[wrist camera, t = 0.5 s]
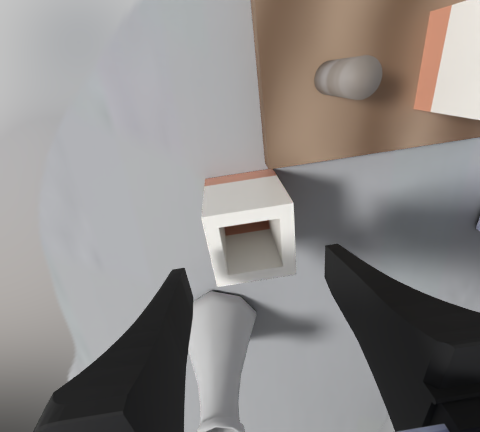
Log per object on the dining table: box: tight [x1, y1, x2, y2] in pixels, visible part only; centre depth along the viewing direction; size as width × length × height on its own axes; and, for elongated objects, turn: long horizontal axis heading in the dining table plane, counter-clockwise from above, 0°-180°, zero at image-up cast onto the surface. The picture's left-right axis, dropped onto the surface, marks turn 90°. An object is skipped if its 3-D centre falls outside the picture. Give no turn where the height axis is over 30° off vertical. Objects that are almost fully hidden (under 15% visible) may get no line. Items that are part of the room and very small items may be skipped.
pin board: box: [251, 0, 480, 169], centre depth 14 cm, size 16×10×6 cm, turn 97°
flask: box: [188, 291, 257, 432], centre depth 22 cm, size 7×7×10 cm
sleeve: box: [201, 169, 296, 287], centre depth 18 cm, size 5×5×6 cm
